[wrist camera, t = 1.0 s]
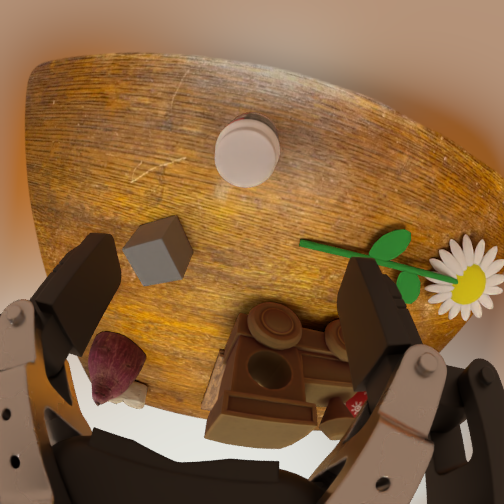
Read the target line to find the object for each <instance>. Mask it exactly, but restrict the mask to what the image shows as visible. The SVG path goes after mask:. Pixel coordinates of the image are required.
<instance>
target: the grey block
mask: <svg viewBox="0 0 504 504" xmlns="http://www.w3.org/2000/svg"><path fill="white" fill-rule="evenodd" d="M122 250H123V252H124V254H125V256H126V257H127V259H128V261H129V263H130V264H131V266H132V268H133V270H134V271H135V273H136V275H137V276H138V278H139V280H140V281H141V283H142V284H143V286H148V285H154V284H159V283H165V282H170V281H176V280H181V279H183V277H184V274H185V272H186V269H187V266H188V264H189V261H190V259H191V256H192V254H193V250H192V248H191V246H190V244H189V242H188V239H187V237H186V235H185V233H184V230H183V228H182V226H181V224H180V221H179V219H178V217H177V215H174V216H171V217H167V218H164V219H161V220H157V221H154V222H151V223H147V224H144V225H141V226H139V228H138V229H137V230H136V232H135V233H134V234H133V235H132V237H131V238H130V239H129V241H128V242H127V243H126V245H125V246H124V247H123V249H122Z"/></svg>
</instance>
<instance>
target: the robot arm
mask: <svg viewBox="0 0 504 504" xmlns="http://www.w3.org/2000/svg"><path fill="white" fill-rule="evenodd" d="M120 282H121V268H120V264H119V260H118V256H117V251H116V247H115V242H114V239H113V237H112V235H111V234H104V233H90V234H89V235H88V236H87V237H86V238H85V239H84V240H83V241H82V243H81V244H80V245H79V246H77V247H76V248H74V249H73V250H71V251H70V252H68V253H67V254H66V255H65V256H64V258H63V259H62V260H61V261H60V262H59V264H58V265H57V266H56V267H55V268H54V269H53V272H51V273H50V274H49V276H48V277H47V278H46V279H45V281H44V282H43V283H42V284H41V286H40V287H39V288H38V290H37V291H36V292H35V293H34V295H33V296H32V298H31V299H30V300H26V299H25V300H24V299H21V300H17V301H15V302H13V303H11V304H10V305H8V306H7V307H6V308H5V309H4V311H3V312H2V314H0V504H409V503H410V502H411V500H412V498H413V496H414V494H415V492H416V490H417V488H418V486H419V484H420V482H421V480H422V478H423V476H424V474H425V476H426V489H427V504H504V389H503V386H502V383H501V380H500V378H499V375H498V373H497V371H496V369H495V368H494V367H493V365H492V364H491V363H489V362H488V361H486V360H484V359H475V360H473V361H472V362H471V363H470V364H469V366H468V367H467V368H466V369H462V368H457V367H452V366H448V365H446V364H445V362H444V359H443V358H442V356H441V355H440V354H439V353H438V352H437V351H436V350H435V349H433V348H432V347H429V346H427V345H423V343H422V341H421V338H420V336H419V334H418V331H417V329H416V326H415V324H414V322H413V319H412V317H411V315H410V313H409V310H408V309H406V307H407V306H406V304H405V302H404V299H402V295H401V293H400V291H399V289H398V287H397V285H396V284H395V283H394V282H393V281H392V280H391V279H390V278H389V277H388V276H387V275H386V274H382V273H381V270H380V268H379V266H378V264H377V262H376V260H375V259H374V258H365V257H355V256H353V257H351V258H350V260H349V263H348V266H347V269H346V272H345V275H344V278H343V280H342V283H341V286H340V289H339V292H338V297H337V310H338V315H339V319H340V324H341V328H342V333H343V338H344V342H345V347H346V352H347V357H348V362H349V368H350V373H351V379H352V384H353V390H354V392H361V391H366V392H367V398H368V399H367V400H366V401H365V402H364V404H363V405H362V407H361V409H360V411H359V412H358V414H357V415H356V417H355V419H354V420H353V422H352V423H351V425H350V427H349V428H348V430H347V431H346V433H345V434H344V436H343V437H342V439H341V440H340V442H339V443H338V444H337V446H336V447H335V449H334V450H333V451H332V452H331V453H330V454H329V455H328V456H327V457H326V458H325V460H324V461H323V462H322V463H321V464H320V465H319V467H318V468H317V469H316V470H315V471H314V473H313V474H312V475H311V476H310V477H309V479H306V478H304V477H302V476H299V475H297V474H295V473H292V472H289V471H286V470H281V469H279V461H254V460H240V459H239V460H238V459H223V460H213V461H201V462H183V463H182V462H176V461H173V460H171V459H168V458H167V457H164V456H162V455H160V454H158V453H156V452H154V451H152V450H150V449H149V448H147V447H144V446H143V445H141V444H139V443H137V442H136V441H134V440H131V439H127V438H124V437H121V436H118V435H115V434H112V433H109V432H106V431H103V430H100V429H98V428H95V427H94V428H93V431H91V429H90V427H89V425H88V423H87V421H86V420H85V418H84V417H83V415H82V413H81V411H80V408H79V404H78V401H77V397H76V393H75V389H74V385H73V380H72V376H71V371H70V366H69V363H68V361H67V359H66V358H67V356H68V354H69V353H70V354H73V355H77V356H79V357H82V355H83V353H84V351H85V349H86V347H87V345H88V343H89V341H90V339H91V337H92V335H93V333H94V331H95V329H96V327H97V325H98V323H99V321H100V320H101V318H102V316H103V314H104V312H105V310H106V309H107V307H108V305H109V303H110V301H111V300H112V298H113V296H114V294H115V293H116V291H117V289H118V287H119V285H120ZM466 419H467V423H468V427H469V431H470V436H471V441H472V447H473V454H472V457H471V459H470V461H469V462H467V460H466V456H465V450H464V444H463V439H462V434H461V429H460V424H461V423H462V422H464V421H465V420H466Z"/></svg>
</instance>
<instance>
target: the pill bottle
mask: <svg viewBox="0 0 504 504" xmlns="http://www.w3.org/2000/svg"><path fill="white" fill-rule="evenodd" d="M279 156H280V143H279V137H278V132H277V129H276V127H275V125H274V123H273V122H272V121H271V120H270V119H269V118H268V117H266V116H265V115H263V114H260V113H255V112H249V113H244V114H241V115H239V116H237V117H236V118H235V119H234V120H232V121H231V122H230V123H229V124H228V125H227V126H226V127H225V128H224V129H223V130H222V131H221V133H220V134H219V136H218V139H217V141H216V146H215V165H216V168H217V170H218V172H219V174H220V175H221V176H222V178H223V179H224V180H226V181H227V182H228V183H230V184H232V185H234V186H237V187H244V188H248V187H254V186H257V185H260V184H261V183H263V182H265V181H266V180H267V179H268V178H269V177H270V176H271V174H272V173H273V171H274V168H275V166H276V165H277V163H278V160H279Z"/></svg>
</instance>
